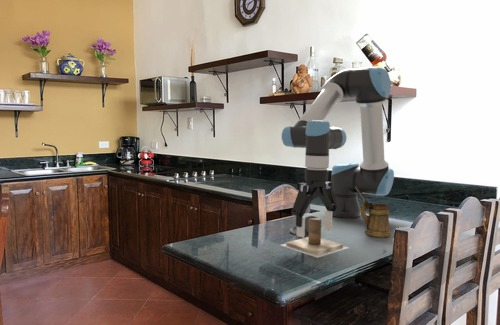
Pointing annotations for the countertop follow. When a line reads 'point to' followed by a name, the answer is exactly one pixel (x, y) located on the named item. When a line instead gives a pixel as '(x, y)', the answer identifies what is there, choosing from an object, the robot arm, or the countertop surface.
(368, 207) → the wooden mug
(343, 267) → the countertop surface
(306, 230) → the ceramic mug
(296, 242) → the lid
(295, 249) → the mat
